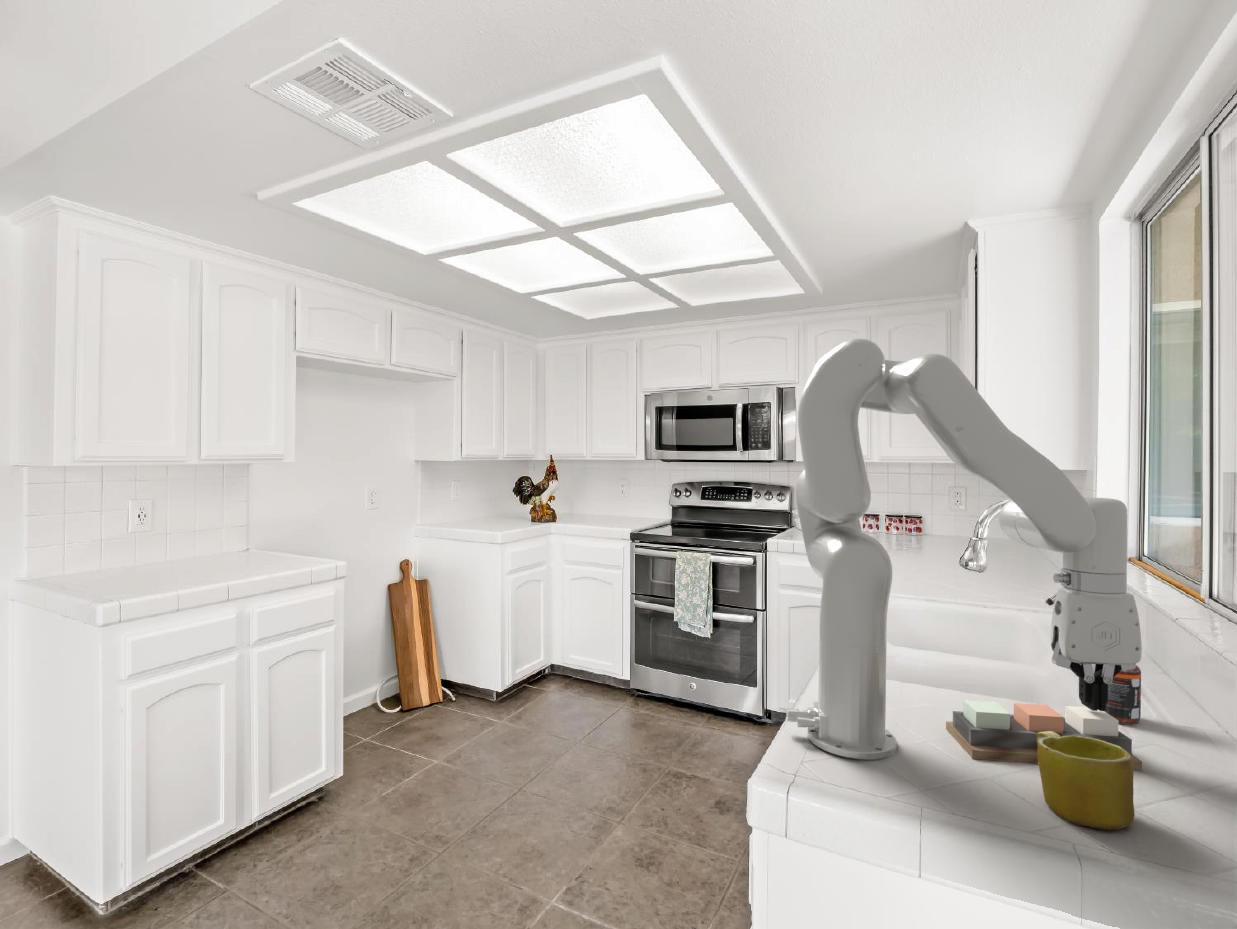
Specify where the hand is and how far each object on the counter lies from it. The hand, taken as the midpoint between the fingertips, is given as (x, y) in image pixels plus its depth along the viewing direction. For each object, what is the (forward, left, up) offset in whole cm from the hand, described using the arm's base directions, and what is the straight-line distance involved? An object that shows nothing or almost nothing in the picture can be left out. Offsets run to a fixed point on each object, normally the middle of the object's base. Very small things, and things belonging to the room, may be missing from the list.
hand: (1092, 707), depth 93 cm
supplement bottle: (+12, +14, -7) cm, 19 cm away
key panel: (-7, 0, -7) cm, 10 cm away
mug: (-11, -16, -7) cm, 21 cm away
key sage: (-15, 0, -3) cm, 15 cm away
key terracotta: (-7, 0, -3) cm, 8 cm away
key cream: (0, 0, -3) cm, 3 cm away
